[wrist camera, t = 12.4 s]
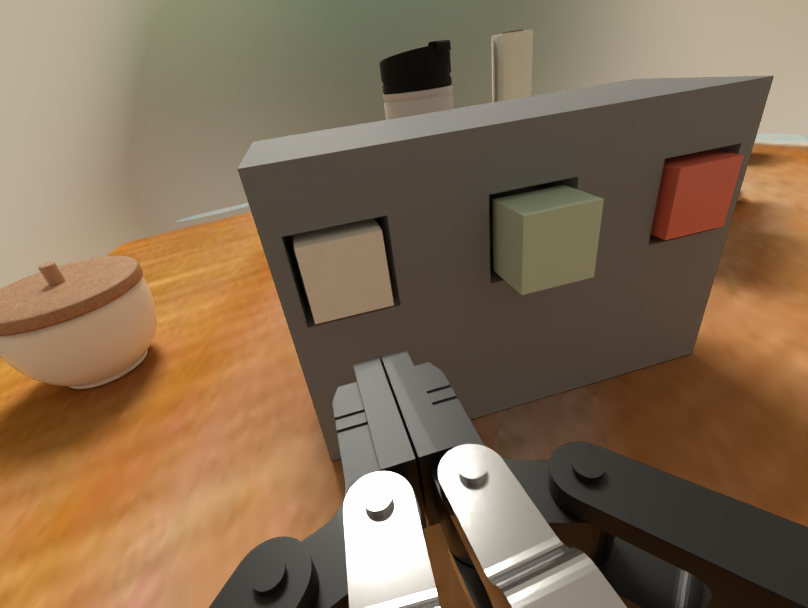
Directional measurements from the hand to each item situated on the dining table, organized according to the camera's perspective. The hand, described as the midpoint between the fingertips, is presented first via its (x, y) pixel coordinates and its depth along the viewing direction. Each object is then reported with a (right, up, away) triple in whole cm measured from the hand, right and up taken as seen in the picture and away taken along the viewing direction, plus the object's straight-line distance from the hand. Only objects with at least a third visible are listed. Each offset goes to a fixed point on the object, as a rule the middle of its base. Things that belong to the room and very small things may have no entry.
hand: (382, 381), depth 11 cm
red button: (+15, +6, +11) cm, 20 cm away
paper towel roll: (+19, +26, +62) cm, 69 cm away
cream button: (-2, +2, +8) cm, 9 cm away
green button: (+7, +4, +8) cm, 11 cm away
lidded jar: (-24, -3, +23) cm, 34 cm away
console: (+7, -2, +17) cm, 19 cm away
